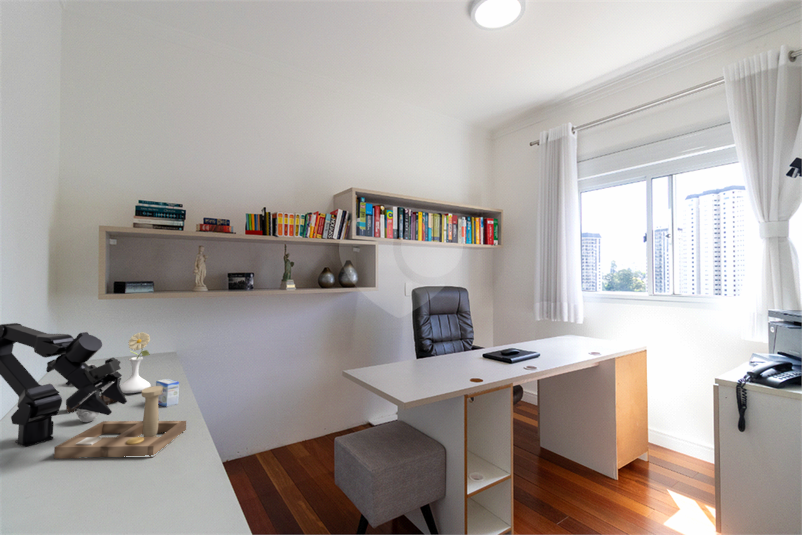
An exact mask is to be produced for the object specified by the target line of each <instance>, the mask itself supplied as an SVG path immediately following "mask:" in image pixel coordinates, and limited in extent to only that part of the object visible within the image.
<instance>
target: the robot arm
mask: <svg viewBox="0 0 802 535" xmlns="http://www.w3.org/2000/svg"><path fill="white" fill-rule="evenodd" d="M16 343H18V344H22V345H24V346H28V347H30V348H32V349H33V350H34V353H36V354H37V355H39V356H40V357H42V358H52V357H55V359H52V360H50V361H48V362H46V364H47V365H46V368H45V369H46V371H45V372H46V373H50V372H52V371H54V370H55V371H56V372H57V373H58V374H59V375H61V376H62V377H63V378H64V379H65V380H66V382H65V383H64V384H65V385H66V386H70V385H72V386H73V387H74V388H76V389H77V390H76V391H75V392H74V393H72V394H71V395H70V396H69V397H67V399H66V400H65V405H67V406H68V407H69V408H70V409H73V408H75V407H76V406H78V405H79V404H80V405H79V406H78V407H76V408H75V410H77V409H82V410H88V411H93V412H97V413H99V414H100V415H101V414H102V415H106V416H110V415H111V414H112V413H113V411H112V410H111V409H110V407H109V406H108V405H106V404H105V403H104V402H103V401H102V399H101V398H100V396H101V395H103V396H105V397H108V398H110V399H112V400H115V401H117V403H119V404H122V405H125V404H126V403H127V402H128V400H127V398H126V396H125V395H124V394H125V393H123V392H122V390H121V388H120V385H121V381H122V376H123V375H122V374H121V373H120V372H119V370H121V367H120V364H121V361H120V360H118V358H117V359H116V358H115V357H110V358H108V359H105V362H104V364H102V365H99V366H97V365H96V364H94V365H90V366H88V365H87V364H88V363H87V362H88V361H89V360H90V359H91V358H92V357H94V355H95V354H96V353H98V351H99V350H101V349H102V347H103V342H102V340H101V339H100V338H98V337H96V336H95V335H92V334H89V333H88V331H86V332H85V331H84V332H80V333H78V334H77V336H76V337H75V338H74V336H72V335H71V334H67V333H47V332H44V331H41V330H37V329H35V328H31V327H27V326H24V325H23V324H21V323H18V322H14V323H13V322H12V323H2V324H0V377H1V378H2V379H3V380H4V381H5V382H6V383H7V384H8V386H9V387H10V388H11V389H12V390H13V392H14V393H15V394H16V395H17V396H18V401H17V405H16V407H17V410H15V412H14V413H13V414H12V415H11V416H10V419H11V424H12V425H18V431H17V432H18V434H17V439H16V440H14V443H15V444H17V445H19V446H21V447H23V448H26V447H30V446H35V445H37V444H39V443H44V442H47V441H50V440H53V439H54V436H53V434H54V420H52V419H53V418H52V417H54V416H58V414H59V411H60V409H61V407H62V403H63V398H62V396H61V395H60V391H59V390H57V389H56V388H55V386H54V384H52V383H48V384H43V385H42V384H40V383H39V382H38V381H37V380H36V378H35V377H34V376H33V375H32V374H31V373H30V372H29V371H28V369H27V368H26V367H25V366H24V365H23V364H22V363H21V361H19V359H18V358H17V357H16V356H15V355H14V353H13V349H14V345H15V344H16ZM56 356H57V357H56ZM96 366H97V367H96Z"/></svg>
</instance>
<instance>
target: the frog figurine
mask: <svg viewBox="0 0 802 535" xmlns="http://www.w3.org/2000/svg"><path fill="white" fill-rule="evenodd" d="M75 414H76V415H77V417H78V419H79V420H80V421H81V422H83V423H90V422H92V421H95V419H96V418H97V417H98V416H99V414H100V413H97V412H93V411H88V410H82V409H76V413H75Z"/></svg>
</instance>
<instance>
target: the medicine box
mask: <svg viewBox="0 0 802 535" xmlns="http://www.w3.org/2000/svg"><path fill="white" fill-rule="evenodd" d="M155 386H162V387H163V390H162V394H161V395H159V397H158V404H159V405H158V406H162V407H165V406H166V407H165V408H168V407H167V406H169V407H172V406H171V405H173V406H176V405H179V395H180V394H179V392H180V391H179V390H180V381H176V380H173V379H170V378H164V379H163V378H162V379H159V380H156V382H155ZM175 404H176V405H175Z"/></svg>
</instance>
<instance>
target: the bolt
mask: <svg viewBox="0 0 802 535" xmlns="http://www.w3.org/2000/svg"><path fill="white" fill-rule="evenodd" d="M100 398H101V399H102V401H103V402H104V403H105V404H106V405H107V406H108V405H109V404H111V403H116V402H117V401H115V400H112V399H110V398H108V397H105V396H103V395H101V394H100ZM117 403H118V402H117ZM65 405H66V404H65ZM79 405H80V404H79ZM79 405H78V406H79ZM78 406H76V407H78ZM76 407H75V408H76ZM75 408H73V409H70V408H69V407H68V406H67V405H66V412H67V413H68V412H72V413H75V410H76V409H75Z"/></svg>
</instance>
